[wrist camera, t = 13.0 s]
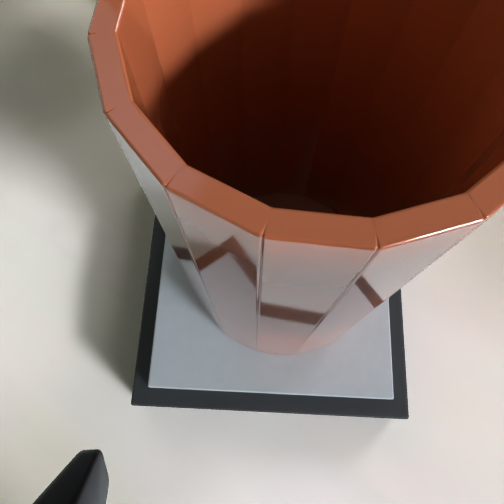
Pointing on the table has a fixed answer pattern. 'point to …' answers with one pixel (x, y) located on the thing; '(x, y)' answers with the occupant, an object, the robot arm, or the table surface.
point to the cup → (306, 146)
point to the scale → (260, 358)
